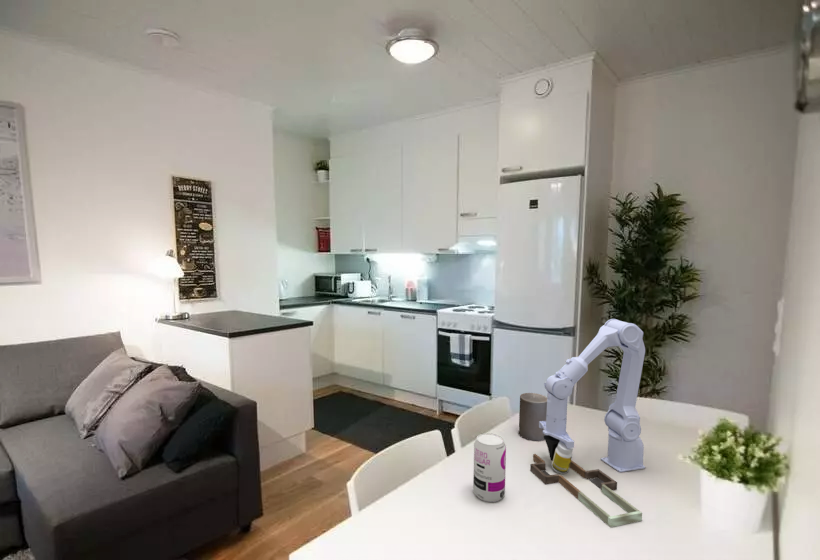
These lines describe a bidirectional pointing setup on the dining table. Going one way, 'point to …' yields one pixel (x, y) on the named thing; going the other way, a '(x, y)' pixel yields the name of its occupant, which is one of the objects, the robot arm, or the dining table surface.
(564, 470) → the supplement bottle
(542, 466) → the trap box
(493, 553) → the dining table surface
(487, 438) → the supplement can
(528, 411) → the pillar candle
